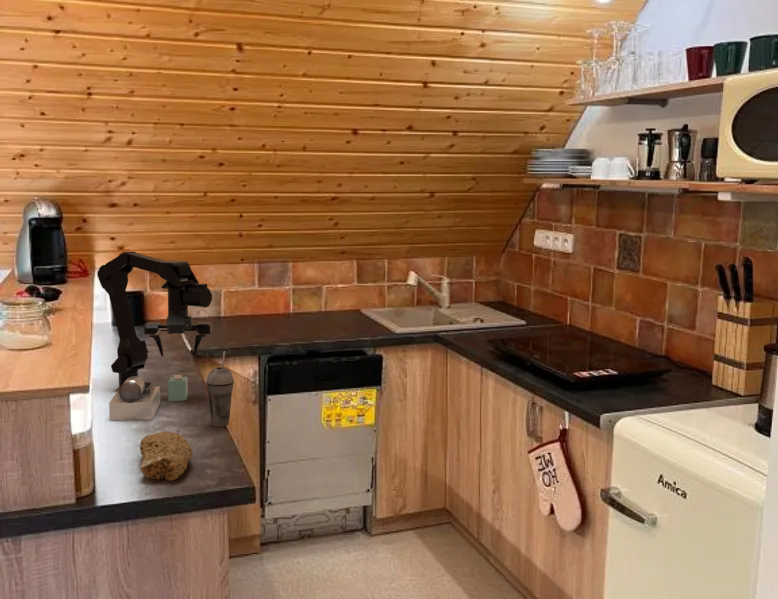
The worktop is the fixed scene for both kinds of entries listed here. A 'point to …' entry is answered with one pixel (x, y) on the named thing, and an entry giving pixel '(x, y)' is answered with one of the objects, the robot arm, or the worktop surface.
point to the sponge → (164, 455)
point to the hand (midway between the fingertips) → (178, 356)
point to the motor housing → (135, 400)
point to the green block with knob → (178, 388)
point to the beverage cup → (220, 394)
